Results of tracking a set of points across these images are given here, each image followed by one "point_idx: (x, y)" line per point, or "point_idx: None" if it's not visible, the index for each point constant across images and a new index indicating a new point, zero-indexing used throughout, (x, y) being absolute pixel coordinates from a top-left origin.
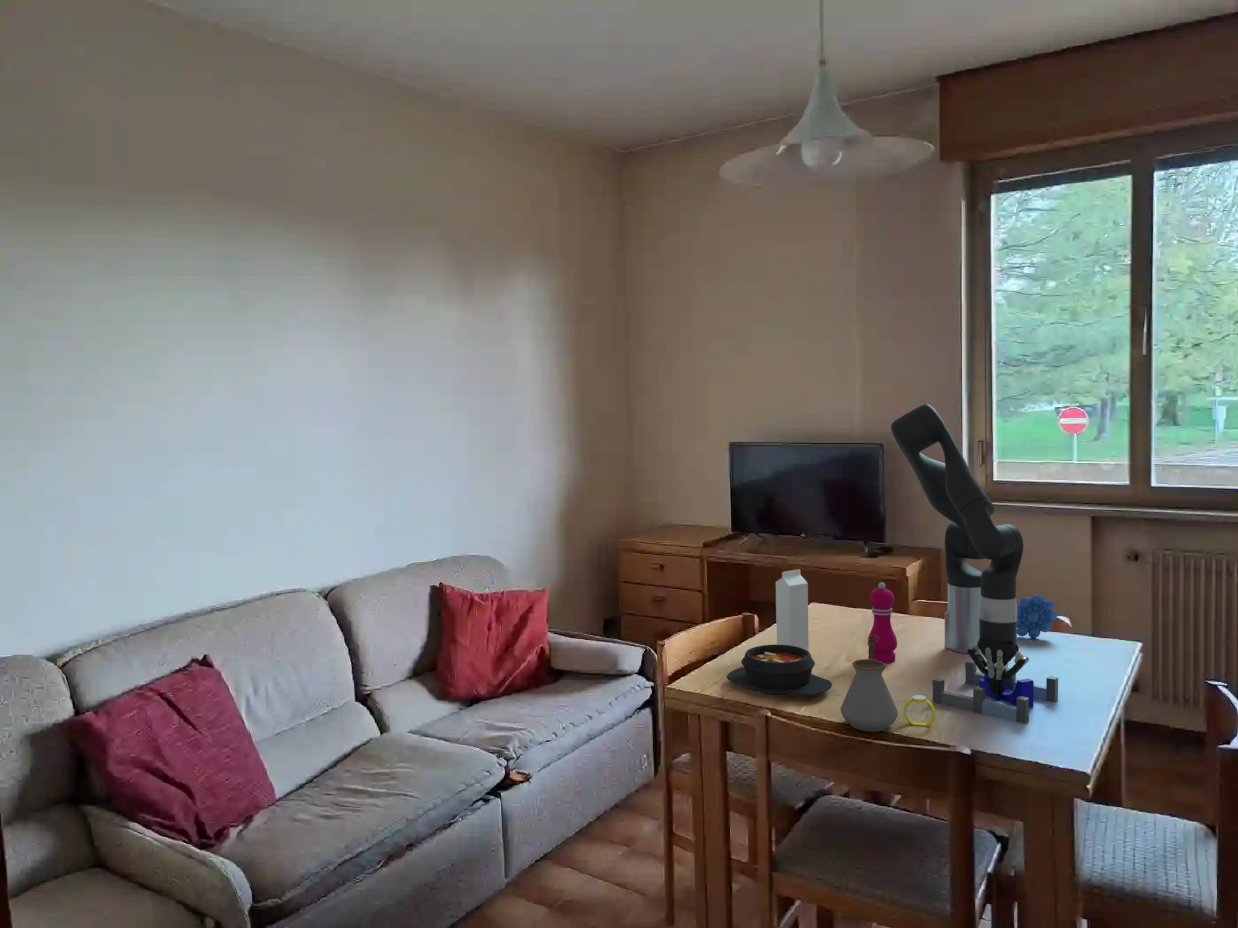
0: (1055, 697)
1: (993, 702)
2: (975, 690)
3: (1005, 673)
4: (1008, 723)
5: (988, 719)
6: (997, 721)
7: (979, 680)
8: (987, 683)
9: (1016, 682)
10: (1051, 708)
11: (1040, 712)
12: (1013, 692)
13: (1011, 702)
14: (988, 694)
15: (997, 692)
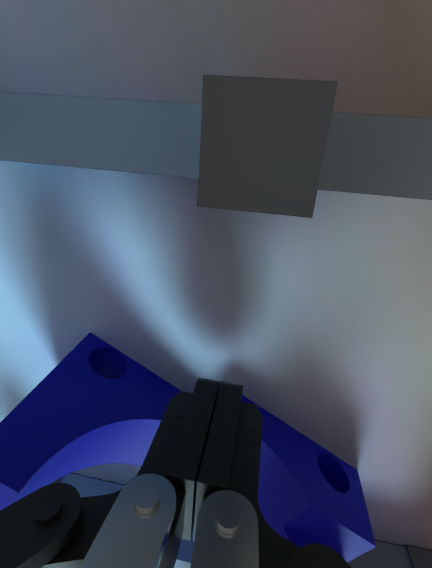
0: None
1: (140, 159)
2: (297, 86)
3: (69, 551)
4: (22, 22)
5: (157, 5)
6: (91, 8)
7: (368, 537)
8: (305, 505)
9: (176, 559)
10: (3, 393)
11: (6, 325)
12: (112, 417)
13: (153, 379)
14: (292, 436)
15: (200, 390)
